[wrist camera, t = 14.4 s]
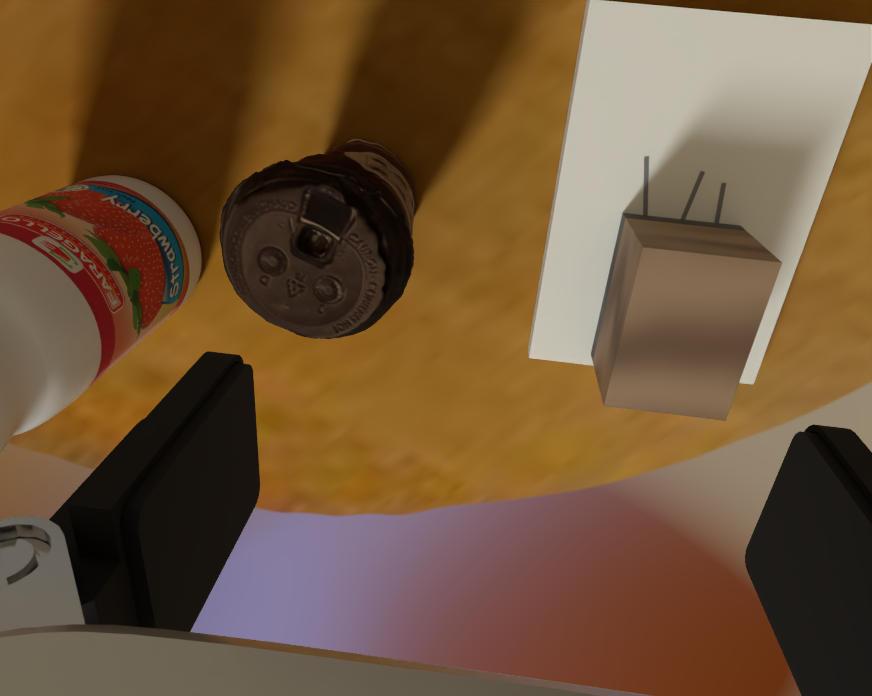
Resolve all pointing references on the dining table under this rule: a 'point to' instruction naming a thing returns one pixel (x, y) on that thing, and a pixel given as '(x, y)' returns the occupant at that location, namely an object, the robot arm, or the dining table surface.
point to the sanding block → (680, 315)
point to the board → (692, 145)
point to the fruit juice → (84, 288)
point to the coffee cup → (322, 239)
